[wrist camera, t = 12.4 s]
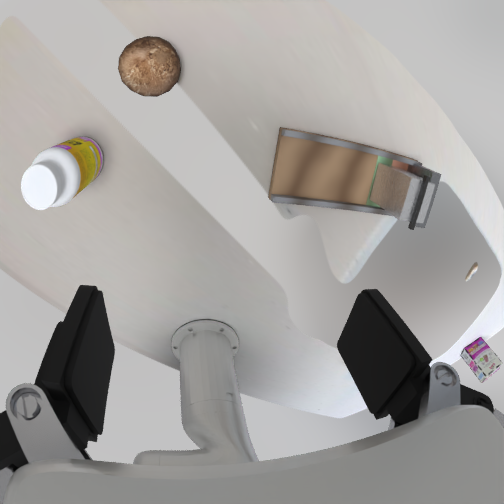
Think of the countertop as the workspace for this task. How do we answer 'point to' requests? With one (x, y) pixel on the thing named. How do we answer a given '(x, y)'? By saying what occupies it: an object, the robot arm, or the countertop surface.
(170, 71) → the mushroom
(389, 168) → the block
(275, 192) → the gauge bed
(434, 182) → the upright gray plate
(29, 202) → the supplement bottle
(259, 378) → the countertop surface
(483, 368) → the candy bar box
